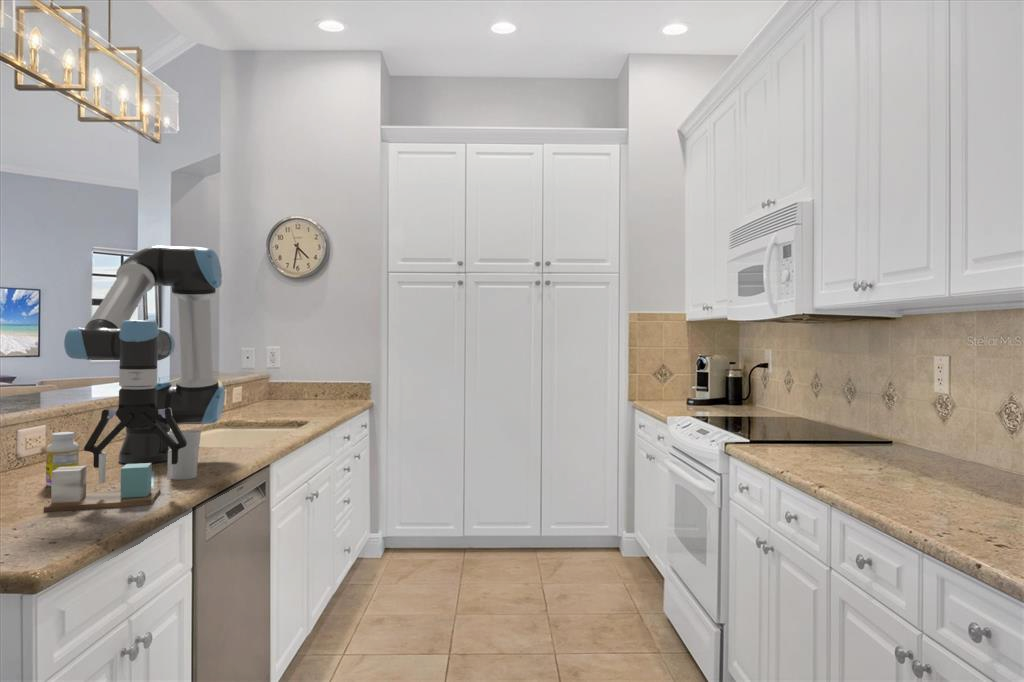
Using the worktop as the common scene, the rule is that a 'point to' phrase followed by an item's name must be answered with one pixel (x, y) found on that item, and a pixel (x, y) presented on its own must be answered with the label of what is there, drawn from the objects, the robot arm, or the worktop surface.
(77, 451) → the supplement bottle
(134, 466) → the turquoise rounded cube
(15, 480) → the worktop surface
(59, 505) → the peg board
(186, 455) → the cup
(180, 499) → the worktop surface
